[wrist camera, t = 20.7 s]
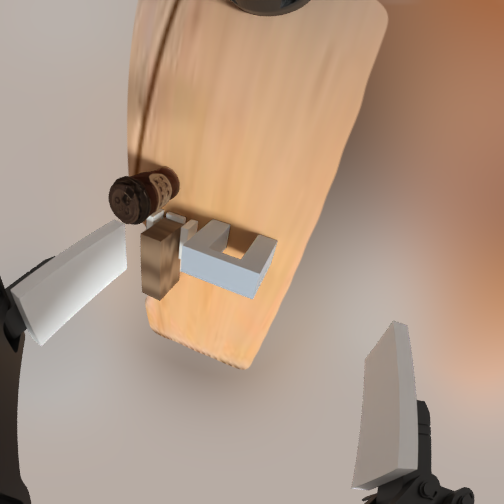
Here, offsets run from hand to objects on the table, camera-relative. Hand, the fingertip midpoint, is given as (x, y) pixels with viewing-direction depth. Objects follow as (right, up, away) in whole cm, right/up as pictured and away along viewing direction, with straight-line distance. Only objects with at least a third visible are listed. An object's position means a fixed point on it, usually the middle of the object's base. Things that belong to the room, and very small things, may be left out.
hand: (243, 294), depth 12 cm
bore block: (-1, +4, +40) cm, 40 cm away
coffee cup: (-16, +15, +39) cm, 45 cm away
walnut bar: (-16, +2, +45) cm, 48 cm away
